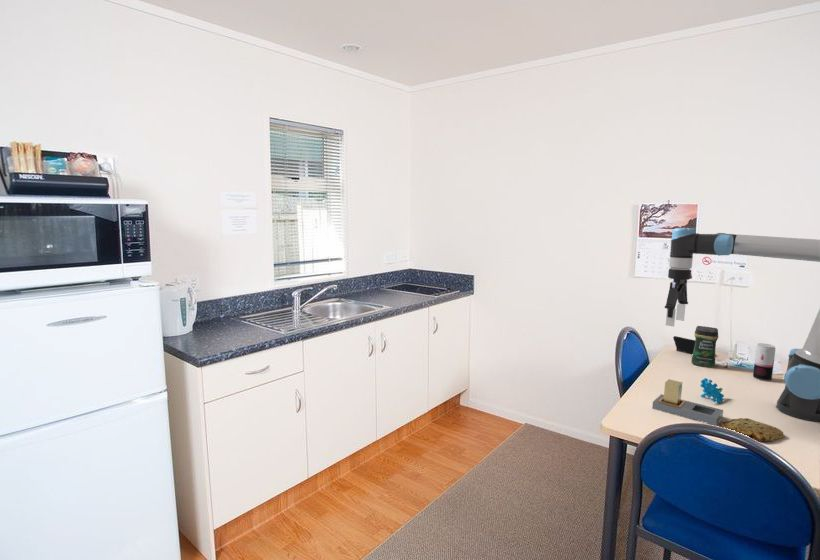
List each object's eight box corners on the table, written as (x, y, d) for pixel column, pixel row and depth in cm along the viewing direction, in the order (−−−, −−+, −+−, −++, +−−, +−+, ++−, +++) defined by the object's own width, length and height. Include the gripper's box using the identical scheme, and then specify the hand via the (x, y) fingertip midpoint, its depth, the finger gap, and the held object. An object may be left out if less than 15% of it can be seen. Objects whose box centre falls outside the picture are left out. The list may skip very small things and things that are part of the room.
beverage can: (775, 380, 201) (779, 346, 199) (765, 382, 199) (769, 348, 197) (759, 375, 207) (763, 342, 205) (749, 377, 205) (753, 344, 203)
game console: (716, 356, 236) (718, 338, 235) (702, 360, 229) (704, 342, 227) (685, 348, 249) (686, 332, 248) (671, 352, 242) (672, 335, 240)
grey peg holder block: (722, 416, 163) (723, 409, 163) (716, 425, 156) (717, 417, 156) (660, 400, 177) (661, 393, 177) (652, 408, 170) (652, 401, 170)
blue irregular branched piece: (713, 401, 172) (698, 377, 178) (700, 408, 177) (686, 384, 183) (732, 401, 177) (717, 377, 183) (718, 407, 181) (704, 384, 187)
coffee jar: (690, 365, 220) (694, 327, 218) (691, 361, 227) (695, 323, 224) (715, 369, 215) (719, 330, 212) (715, 364, 221) (719, 326, 219)
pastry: (794, 449, 142) (795, 440, 142) (727, 438, 148) (728, 430, 148) (773, 425, 158) (775, 417, 158) (714, 417, 164) (715, 409, 164)
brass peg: (679, 408, 170) (682, 382, 169) (676, 412, 167) (679, 385, 166) (666, 404, 173) (668, 379, 172) (662, 408, 170) (665, 382, 169)
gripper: (678, 265, 189) (673, 316, 192) (659, 270, 171) (654, 326, 174) (699, 267, 184) (694, 319, 187) (682, 272, 166) (676, 330, 169)
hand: (674, 323), depth 180 cm, fingers open, 13 cm apart
